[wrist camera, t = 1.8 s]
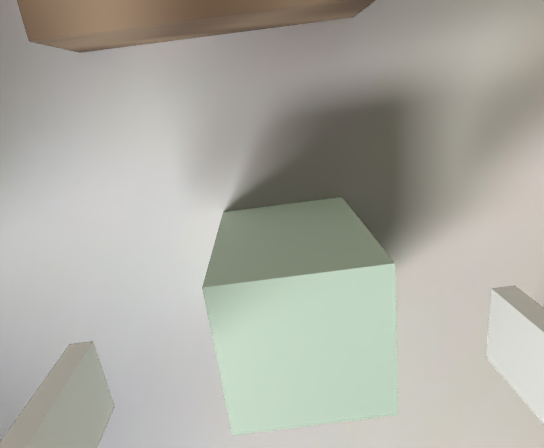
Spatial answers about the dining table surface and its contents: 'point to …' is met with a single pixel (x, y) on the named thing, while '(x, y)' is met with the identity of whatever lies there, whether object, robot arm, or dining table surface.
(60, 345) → the dining table surface
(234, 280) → the sage block
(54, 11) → the walnut plinth
